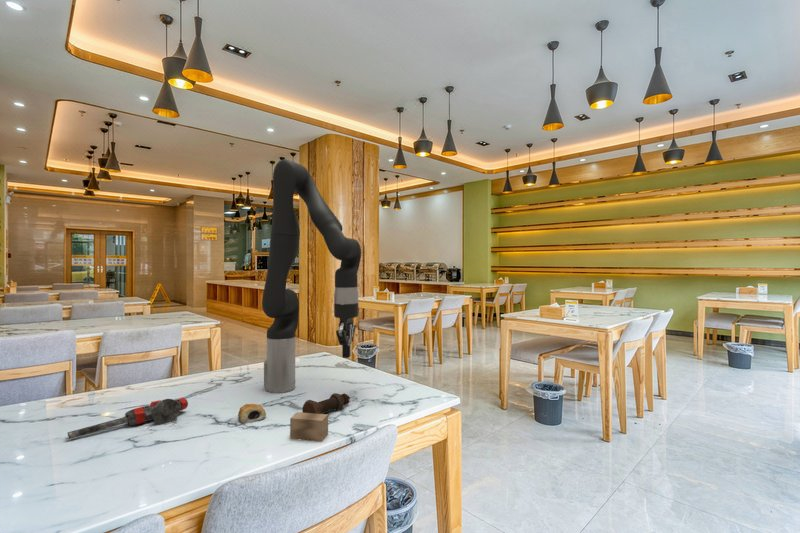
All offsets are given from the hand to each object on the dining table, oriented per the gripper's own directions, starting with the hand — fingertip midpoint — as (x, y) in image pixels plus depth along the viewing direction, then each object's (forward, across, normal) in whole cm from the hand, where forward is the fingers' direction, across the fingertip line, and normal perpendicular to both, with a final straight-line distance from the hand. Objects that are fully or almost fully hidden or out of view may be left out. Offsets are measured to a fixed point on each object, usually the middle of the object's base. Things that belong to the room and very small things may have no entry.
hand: (346, 357), depth 123 cm
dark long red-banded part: (+13, +29, -49) cm, 59 cm away
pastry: (+13, +20, -21) cm, 32 cm away
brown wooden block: (+13, +28, 0) cm, 31 cm away
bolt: (+13, +12, -1) cm, 18 cm away
